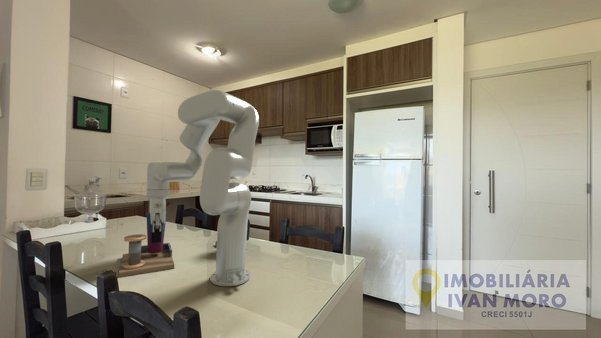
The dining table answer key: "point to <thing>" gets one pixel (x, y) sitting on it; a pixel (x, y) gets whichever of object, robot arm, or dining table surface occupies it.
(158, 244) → the cup
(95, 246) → the dining table surface
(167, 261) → the board
